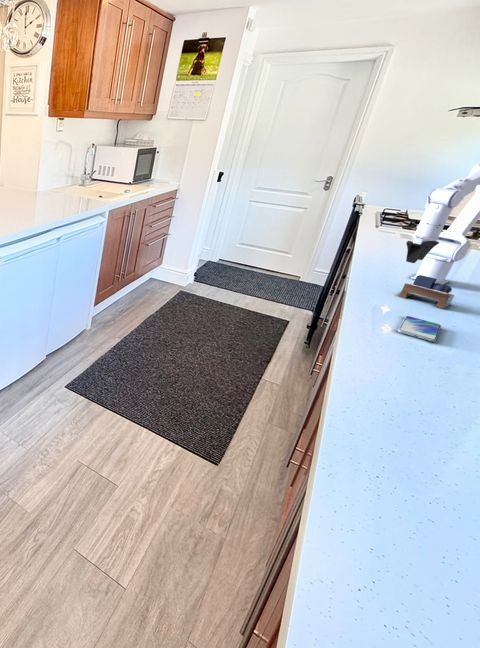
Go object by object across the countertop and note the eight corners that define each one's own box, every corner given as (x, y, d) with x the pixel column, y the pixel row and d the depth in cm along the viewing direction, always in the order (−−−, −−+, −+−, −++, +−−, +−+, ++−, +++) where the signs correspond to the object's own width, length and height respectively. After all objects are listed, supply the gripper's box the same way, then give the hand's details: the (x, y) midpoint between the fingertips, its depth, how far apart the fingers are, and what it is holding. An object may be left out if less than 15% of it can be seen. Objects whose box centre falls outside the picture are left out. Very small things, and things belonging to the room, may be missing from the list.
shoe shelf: (406, 292, 139) (412, 280, 138) (449, 304, 131) (456, 291, 129) (398, 296, 136) (404, 283, 134) (442, 308, 128) (450, 295, 126)
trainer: (410, 287, 135) (415, 276, 133) (413, 285, 137) (419, 274, 135) (446, 296, 128) (452, 285, 127) (450, 294, 130) (456, 283, 128)
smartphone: (398, 329, 112) (406, 315, 120) (396, 332, 112) (405, 317, 121) (436, 340, 106) (441, 324, 115) (434, 343, 107) (440, 327, 115)
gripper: (422, 219, 144) (406, 254, 149) (408, 222, 138) (391, 259, 143) (451, 223, 139) (432, 260, 144) (438, 228, 132) (419, 266, 137)
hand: (414, 260), depth 143 cm, fingers open, 7 cm apart
